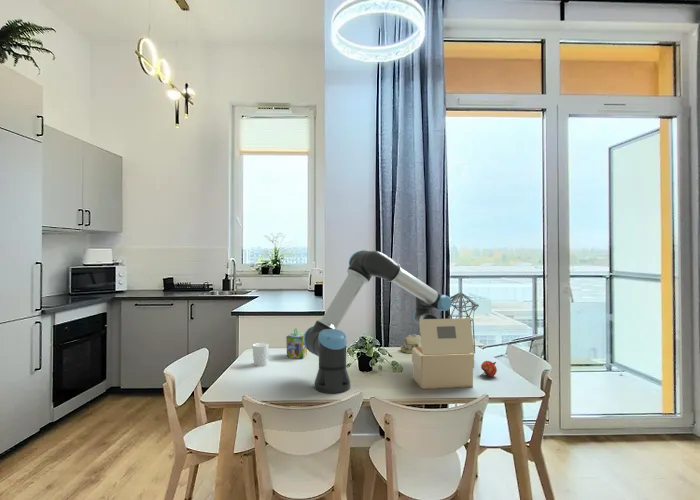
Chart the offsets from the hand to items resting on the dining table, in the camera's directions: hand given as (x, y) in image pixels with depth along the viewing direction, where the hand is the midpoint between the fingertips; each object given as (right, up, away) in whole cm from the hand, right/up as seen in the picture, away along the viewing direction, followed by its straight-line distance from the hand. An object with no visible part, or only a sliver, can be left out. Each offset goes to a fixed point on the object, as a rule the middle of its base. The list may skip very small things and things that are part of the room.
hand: (446, 332), depth 180 cm
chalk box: (-71, -22, +42) cm, 85 cm away
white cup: (-87, -22, +27) cm, 94 cm away
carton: (-2, -22, 0) cm, 22 cm away
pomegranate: (+21, -22, +9) cm, 32 cm away
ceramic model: (-6, -22, +53) cm, 57 cm away
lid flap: (-1, -1, -5) cm, 5 cm away
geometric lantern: (+16, -22, +37) cm, 45 cm away
